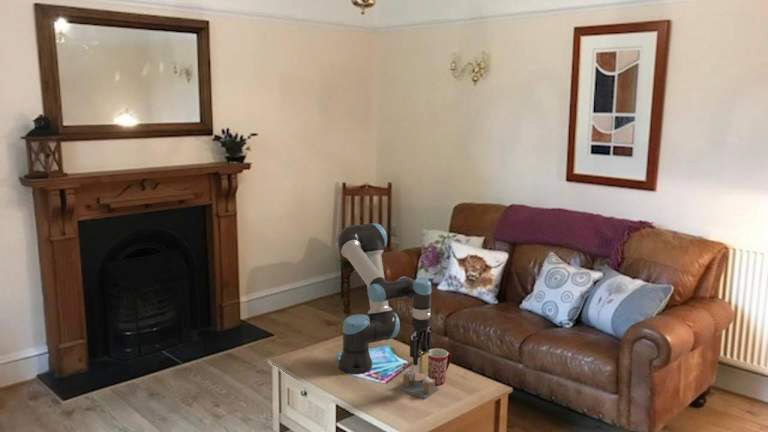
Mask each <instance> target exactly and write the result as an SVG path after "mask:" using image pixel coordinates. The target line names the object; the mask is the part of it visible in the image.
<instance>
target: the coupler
mask: <svg viewBox="0 0 768 432" xmlns="http://www.w3.org/2000/svg"><path fill="white" fill-rule="evenodd" d="M428 355H429V352H426V351H423V350H422V349H420V351H419V357H420V371H419V373H418V374H424V373H426V372H428ZM411 358H412V357H411ZM411 362H412V363H411V364H412V369H411V370H412V372H414V371H413V358H412V360H411Z"/></svg>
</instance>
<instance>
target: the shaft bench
mask: <svg viewBox="0 0 768 432" xmlns="http://www.w3.org/2000/svg"><path fill="white" fill-rule="evenodd" d="M402 378H403V382H402V385H401V386H399V388H398V389H399V390H400V391H402V392H404V393H408V394H410V395H412V396H415V397H418V398H420V399H423V400H426V399H428V398H429V397H430V396H432V395H434V394H435V393H436V392H437V391H439V388H438V387H436V385H435V380H434V379H432V378H429V377H428V376H425V377H424V378H423V380H422V381H419V380H416V372H415V371H411V370H408V371H405V373H403V377H402Z"/></svg>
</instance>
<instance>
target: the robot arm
mask: <svg viewBox="0 0 768 432" xmlns="http://www.w3.org/2000/svg"><path fill="white" fill-rule="evenodd" d="M387 243H388V235H387V232H386V230H385V228H384V227H383V226H382V225H381V224H379V223H366V224H365V223H364V224H355V225H349V226H346V227H345V228H343V229H342V230H341V231H340V232H339V235H338V238H337V249H338V251H339V252H340V254H341V255H342V257H344V258H346V259H347V260H348V261H349V262H350V264H351V265H352V267H353V268H354V270H355V271H356V272H357V273H358V275H359V277H361V279H362V280H363V281H364V282H363V283H365V285H366V287H367V296H368V301H369V307H370V309H369V310H368V312H367V314H363V313H360V314H359V313H355V314H352V315H349V316H347V317H346V318H345V319H344V321H343V324H342V325H343V326H342V352H341V355H340V358H339V360H338V368H339V369H340V370H341V371H342V372H345V373H349V374H364V373H366V372H367V373H368V372H369V371H371V370H372V368H373V360H372V358H371V355H370V352H369V348H370V347H369V344H372V343H377V342H382V341H388V340H391V339H393V338H396V337H397V335H398V334H399V332H400V329H401V328H400V327H401V326H400V325H401V324H400V318H399V316H398V314H397V313H396V312H394V311H393V308H392V307H391V306H389V305H390V304H389V301H393V300H398V299H404V298H408V299H410V300H412V307H411V308H412V312H411V316H412V319H411V325H412V327H413V334H409V337H408V338H409V357H410V358H413V371H412V372H415V373H418V374H420V373H419V371H420V357H419V351H420V350H423V351H426V352H429V353H430V351H429V350H431V345H432V332H433V327H431V312H432V311H431V308H432V305H431V304H432V282H431V281H430V280H428V279H426V278H417V279H413V278H410V277H408V276H401V277H399V278H398V279H396V280H391V281H387V280H386V279H385V273H384V267H383V266H384V265H383V260H382V259H383V258H382V257H383V256H382V254H383V253H384V248H385V247H386V246H387Z"/></svg>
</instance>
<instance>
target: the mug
mask: <svg viewBox="0 0 768 432" xmlns="http://www.w3.org/2000/svg"><path fill="white" fill-rule="evenodd" d="M428 351H430V353H429V355H428V371H427V374H428V375H427V377H429V378H432V379H434V380H435V386H441V385H444V384H445V382H446V375H447V370H448V368H449V367H450V364H451V360H452V354H451V353H450V352H448V351H447V350H446V349H443V348H432V349H430V350H428Z"/></svg>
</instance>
